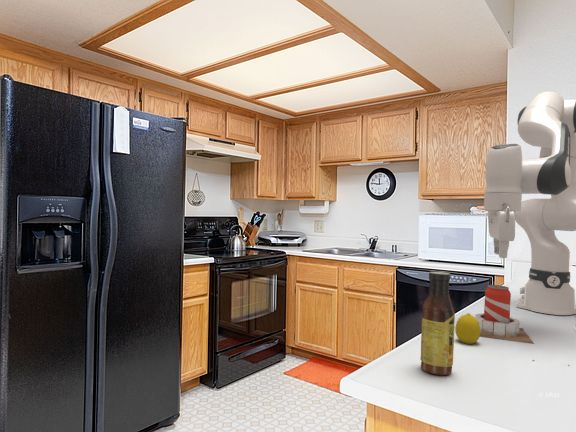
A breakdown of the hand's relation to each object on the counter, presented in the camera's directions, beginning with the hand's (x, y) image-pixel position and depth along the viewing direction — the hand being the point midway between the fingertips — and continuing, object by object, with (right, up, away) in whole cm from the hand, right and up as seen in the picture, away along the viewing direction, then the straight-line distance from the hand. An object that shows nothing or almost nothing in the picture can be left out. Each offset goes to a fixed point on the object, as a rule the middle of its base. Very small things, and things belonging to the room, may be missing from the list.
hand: (500, 255), depth 109 cm
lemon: (-13, -21, -10) cm, 27 cm away
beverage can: (-1, -21, 0) cm, 21 cm away
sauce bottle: (-27, -21, -26) cm, 43 cm away
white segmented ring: (-1, -20, 0) cm, 20 cm away
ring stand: (-1, -21, 0) cm, 21 cm away
